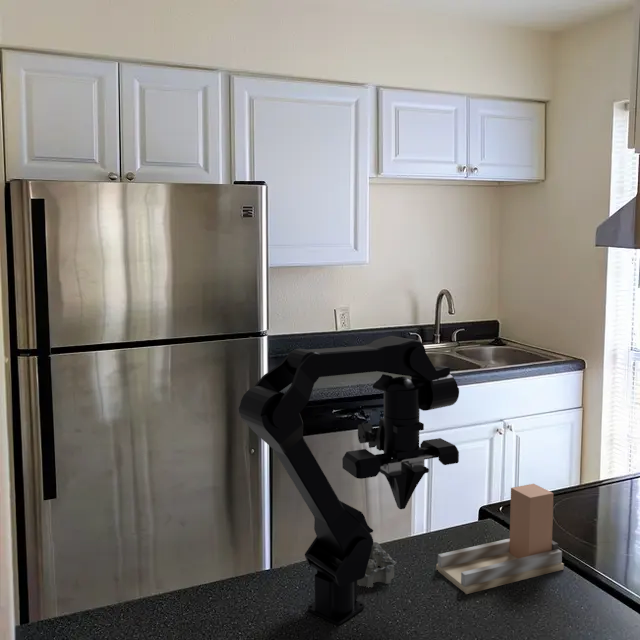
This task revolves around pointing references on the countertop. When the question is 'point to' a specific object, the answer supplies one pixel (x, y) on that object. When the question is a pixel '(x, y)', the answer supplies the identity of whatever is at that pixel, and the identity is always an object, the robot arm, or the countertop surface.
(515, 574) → the chute
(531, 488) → the chute block
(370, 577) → the egg carton
